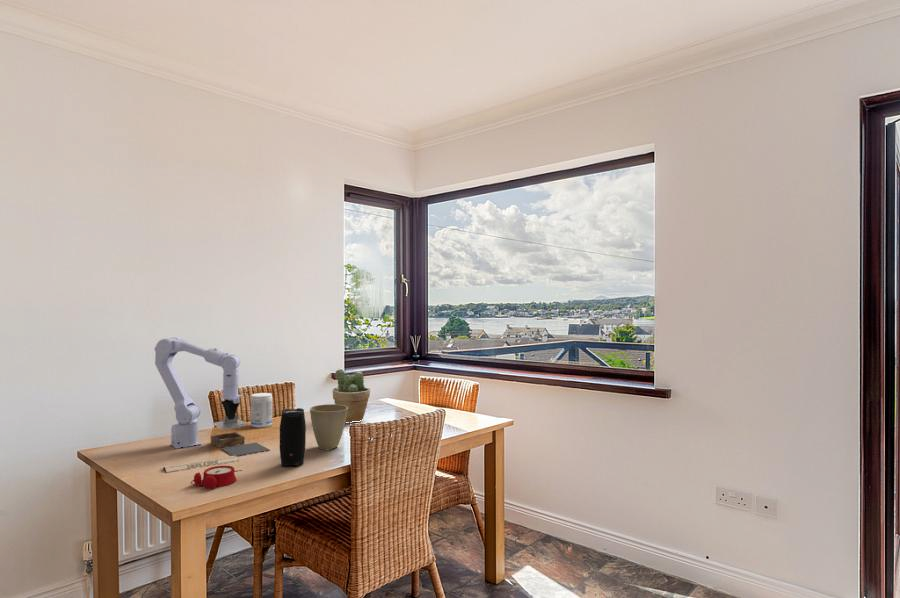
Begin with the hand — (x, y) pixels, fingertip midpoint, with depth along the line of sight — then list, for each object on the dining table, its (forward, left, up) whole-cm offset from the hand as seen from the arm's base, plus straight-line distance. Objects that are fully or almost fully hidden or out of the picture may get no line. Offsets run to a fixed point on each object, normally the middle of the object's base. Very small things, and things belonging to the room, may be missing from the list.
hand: (230, 418), depth 220 cm
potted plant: (+61, +7, -11) cm, 62 cm away
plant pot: (+29, -29, -11) cm, 42 cm away
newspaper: (-17, -22, -11) cm, 30 cm away
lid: (0, 0, -3) cm, 3 cm away
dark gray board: (+2, -12, -10) cm, 16 cm away
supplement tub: (+23, +24, -11) cm, 35 cm away
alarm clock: (-20, -44, -11) cm, 50 cm away
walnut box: (0, +2, -10) cm, 11 cm away
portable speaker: (+8, -41, -11) cm, 43 cm away
